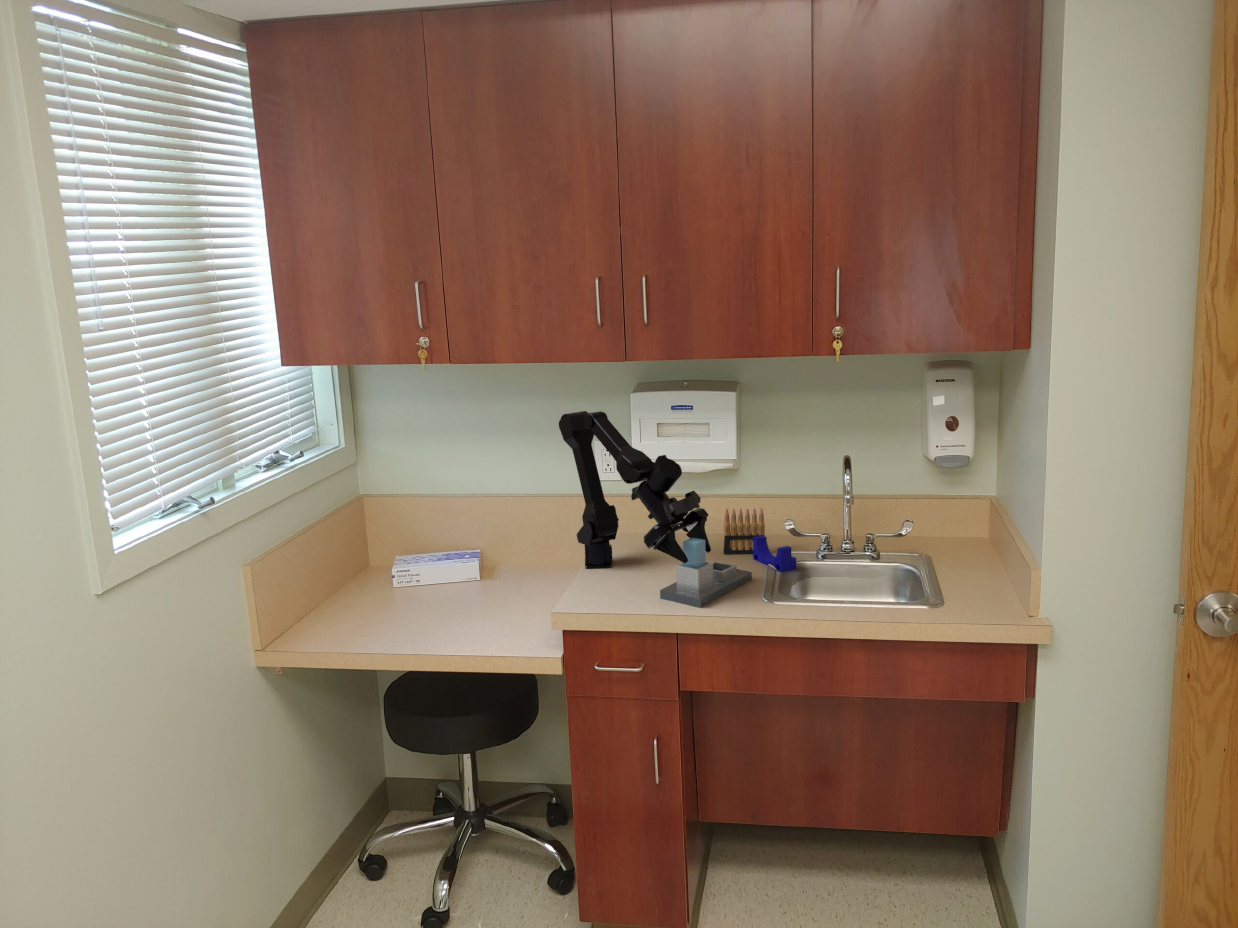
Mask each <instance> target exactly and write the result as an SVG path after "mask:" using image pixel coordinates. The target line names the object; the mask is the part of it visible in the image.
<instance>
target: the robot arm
mask: <svg viewBox="0 0 1238 928" xmlns="http://www.w3.org/2000/svg"><path fill="white" fill-rule="evenodd" d="M558 429H559V430H560V434H561V436H562V439H563V441H564V442H565V444H567V445H568V446H569V447H570V448H571V450H572V455H573V457H574V462H575V465H576V466H575V467H576V471H577V475H578V478H579V483H580V486H581V491H582V496H583V499H584V505H585V506H584V509H583V512H582V517H581V519H582V526H581V527H580V529H579V530H578V531H577V533H576V538H577V539H576V540H577V541H578V543H579V544H581V545H584V568H585V567H586V566H587V567H586V568H585V569H599V568H600V569H601V568H611V567H612V564H613V545H612V544H611V543H610V541H612V540H616V538H617V533H618V529H619V521H620V520H619V517H618V515H617V510H616V509H617V508H616V506H615V505H613V504H612V505H610V504H609V503H608V501H606V499H605V496H604V495H605V494H604V490H603V486H602V483H601V478H600V474H599V470H598V467H597V462H596V458H595V455H594V450H593V446H592V444H593V440H594V437H595V438H597V439H598V441H599V442H600V444H602V446H603V447H604V448H605V449H606V450H607V452H608V453H609V454H610V455H611V457H612V458H613V459H614V461H615V465H616V468H615V469H616V471H617V473H618V474H619V476H620V478H621V479H622V481H623V482H624V483H626V484H627V485H628V484H629V485H632V484H635V483H639V484H638V485H637V486H635V487H633V488H631V497H630V498H631V500H632V501H636V500H637V499H639V500H640V503H642V505H643V506H644V508H645V509H647V511H648V512H649V514H648V515H647V517H648V519H649V520H652V519H654V520H655V522H656V523H657V524H654V525H653V526H652V528H650V530H649V531H648V532H647V533H646V534H645V535H644V536H643V543H644V544H645V545H646V547H647V549H651V548H653V550H654V551H656V550H657V551H659V552H662V553H664V554H666V555H668V556H670V557H672V558H674V559H675V560H678V561H680V563H682V562H683V563H687V562H688V559H687V557H686V555H685V553H684V552H683V548H682V547H681V546H680V544H679V542H678V541H677V540H676V532H678V531H680V530H682V532H685V533H686V534H685V536H687V538H688V539H690V538H697V539H703V540H705V553H707V554H709V553H710V552H712V548H711V545H710V541H709V538H708V536H707V533H706V529H705V527H706V522H707V521H708V517H709V513H708V512H707V510H706V509H705V508H701V507H700V503H701V501H702V500H701V499H702V498H701V497H700V495H699V494H698V493H697V492H696V491H695V490H691V491H689V492H687V493H684V498H682V499H679V500H678V499H677V498H676V497H674V496H673V497H670V496H669V495H668V494H667V492H669V491H670V489H671V488H672V487H673V486H674V485H675V483H676V482H677V481H678V480H679V479H680V477H681V476H682V475H683V474H682V472H683V471H682V467H681V465H680V464H679V463H677V462H676V461H675V460H673V459H671V458H668V457H667V456H666V454H663V455H662V454H661V455H658V456H657V457H656V459H655V461H652V459H651V458H650V457H649V456H648V455H647V454H645V452H643V451H642V450H639V449H637V448H635V447H633V446H631V445H630V443H629V442H628V441H627V439H625V438H624V436H623V435H622V434H621V433H620V432H619V430H618V429H617V428H616V427H615V426H614V425H613V423H612V422H611V421H610V420H609V419H608V415H607V413H606V412H605V411H601V410H599V411H593V412H588V411H586V410H582V411H581V410H580V411H575V412H569V413H564V414H562V415H561V417H560V419H559V421H558Z"/></svg>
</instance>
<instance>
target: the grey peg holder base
mask: <svg viewBox="0 0 1238 928" xmlns="http://www.w3.org/2000/svg"><path fill="white" fill-rule="evenodd" d="M675 571H676V572H675V573H676V577H675V578H676V581H675V582H674V583H671V584H669V585H668V586H665V587H663V588H661V589H660V590H659V597H660V598H659V599H662V600H666V601H670V602H674V603H678V604H683V605H687V606H690V607H691V606H692V607H696V608H699V609H700V608H703V607H705V606H707V605H709V604H710V603H713V602H714V601H716V600H718V599H720V598H721V597H723V596H726V595H727V594H729V593H731V592H733V591H734V590H736V589H738V588H740V587H741V586H744V585H746V584H747V583H749V582H751V581H753V571H747V570H744V569H739V568H737V565H735V564H730V563H725V562H720V561H707V560H706V565H704V566H702V567H700V568H698V569H697V568H692V567H687V566H684V564H683V562H680V563H678V564H675Z"/></svg>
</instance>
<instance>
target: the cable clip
mask: <svg viewBox="0 0 1238 928" xmlns="http://www.w3.org/2000/svg"><path fill="white" fill-rule="evenodd" d="M767 538H768V537H767V536H757V537H753V554H752V557H753V558H752V559H753V560H754V561H756V562H758V563H760V564H762V565H764V564H765V565H764V566H766V565H768V564H771V565H773V566H774V567H775V568H776V569H777V570H776V571H777V572H780V573H784V572H788V571H795V570H797V557H795V556H792V547H791V546H789V545H786V546H785V545H783V546H780V547H777V552H776V555H775V556H774V555H773V554H772V553H771V550H770V548H769V545H768V541H767Z"/></svg>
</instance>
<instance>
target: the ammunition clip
mask: <svg viewBox="0 0 1238 928" xmlns="http://www.w3.org/2000/svg"><path fill="white" fill-rule="evenodd" d="M736 514H737V513H736V510H735V508H733V509H732V511H731V519H730V512H729V510H728V508H726V509H725V513H724V520H723V521H724V522H723V552H722V553H723V555H724V556H725V555H726V556H731V555H732V556H733V555H734V556H735V555H738V556H739V555H753V537H757V536H765V535H766V534H765V533H766V531H765V528H766V525H765V519H764V518H765V516H764V510H763V508H762V507H761V508H760V510H759V514H758V515H757V510H756V508H755V507H754V508H753V510H752V513H751V516H750V510H749V508H746V510H745V514H744V513H743V510H742V508H740V509H739V510H738V516H737V515H736ZM744 515H745V516H744ZM757 516H758V518H757ZM737 517H738V519H737ZM750 517H751V518H750ZM730 520H731V521H730Z"/></svg>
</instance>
